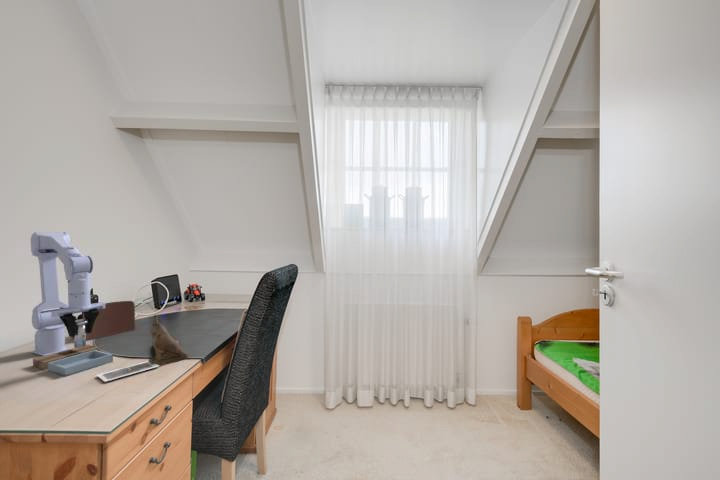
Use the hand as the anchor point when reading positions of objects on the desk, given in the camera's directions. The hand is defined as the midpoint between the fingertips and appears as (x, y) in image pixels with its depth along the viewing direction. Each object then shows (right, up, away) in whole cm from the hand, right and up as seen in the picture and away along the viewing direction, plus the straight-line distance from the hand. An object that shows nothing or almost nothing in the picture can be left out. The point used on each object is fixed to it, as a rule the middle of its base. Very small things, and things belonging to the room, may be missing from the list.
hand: (80, 334), depth 116 cm
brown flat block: (-9, -10, +6) cm, 15 cm away
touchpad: (+19, -11, -5) cm, 23 cm away
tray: (0, -10, 0) cm, 11 cm away
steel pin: (0, -4, 0) cm, 4 cm away
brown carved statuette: (+26, -10, +5) cm, 29 cm away
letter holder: (-19, -10, +37) cm, 43 cm away
